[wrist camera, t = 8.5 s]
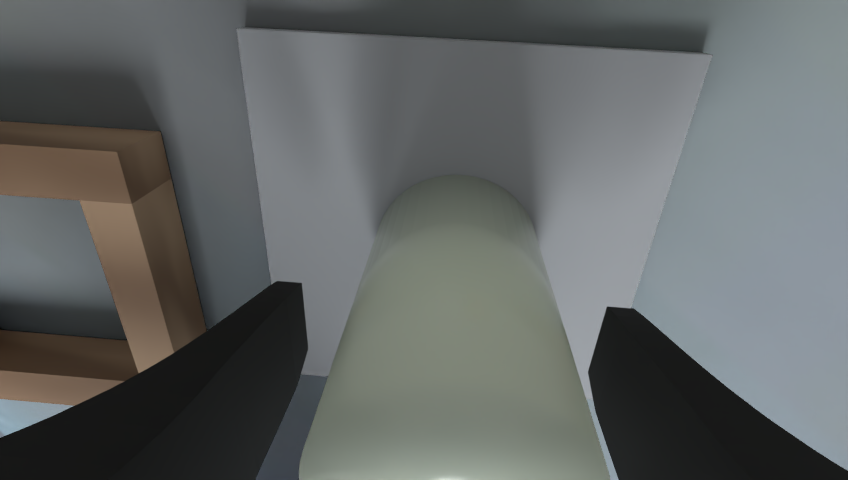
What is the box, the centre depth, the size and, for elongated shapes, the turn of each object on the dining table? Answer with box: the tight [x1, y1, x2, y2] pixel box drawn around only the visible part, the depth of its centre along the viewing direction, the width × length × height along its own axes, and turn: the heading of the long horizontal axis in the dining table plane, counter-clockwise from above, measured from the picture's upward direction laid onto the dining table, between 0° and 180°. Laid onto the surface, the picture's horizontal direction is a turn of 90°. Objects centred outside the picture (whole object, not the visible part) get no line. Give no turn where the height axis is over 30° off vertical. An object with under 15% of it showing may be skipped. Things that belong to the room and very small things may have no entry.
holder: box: [0, 121, 207, 405], centre depth 16 cm, size 10×10×2 cm
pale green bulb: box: [299, 175, 610, 480], centre depth 11 cm, size 5×5×8 cm
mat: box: [236, 27, 713, 399], centre depth 15 cm, size 12×12×1 cm
